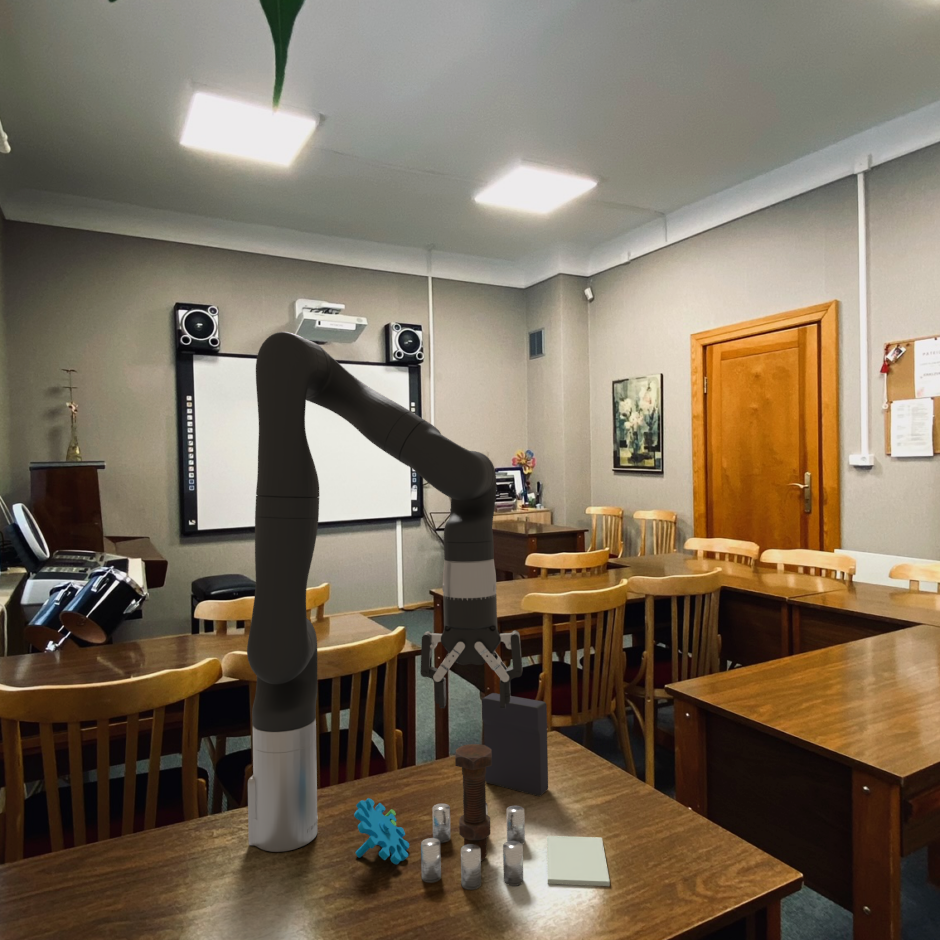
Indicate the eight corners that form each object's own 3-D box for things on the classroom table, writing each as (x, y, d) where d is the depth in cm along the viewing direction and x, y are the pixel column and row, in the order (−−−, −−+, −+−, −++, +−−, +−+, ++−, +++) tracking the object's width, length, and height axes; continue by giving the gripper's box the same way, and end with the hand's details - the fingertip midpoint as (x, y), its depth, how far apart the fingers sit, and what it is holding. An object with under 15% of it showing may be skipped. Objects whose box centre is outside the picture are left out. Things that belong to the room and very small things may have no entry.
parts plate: (547, 883, 90) (547, 879, 90) (546, 839, 101) (546, 835, 101) (609, 886, 89) (609, 881, 89) (601, 841, 100) (601, 837, 100)
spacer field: (418, 887, 89) (417, 852, 90) (435, 829, 104) (435, 799, 104) (522, 891, 88) (522, 856, 88) (525, 832, 103) (524, 802, 103)
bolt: (493, 869, 93) (491, 758, 94) (456, 869, 93) (454, 759, 94) (493, 846, 99) (491, 742, 99) (458, 847, 99) (456, 742, 99)
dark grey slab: (550, 788, 118) (548, 700, 118) (539, 798, 114) (537, 707, 114) (495, 774, 123) (493, 691, 124) (482, 784, 120) (481, 697, 120)
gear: (400, 868, 91) (351, 808, 93) (369, 899, 91) (321, 838, 94) (421, 837, 102) (377, 784, 104) (394, 865, 102) (350, 811, 104)
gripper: (520, 586, 100) (523, 698, 100) (424, 587, 101) (426, 697, 101) (519, 595, 92) (522, 716, 92) (415, 596, 94) (418, 715, 94)
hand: (472, 706), depth 97 cm, fingers open, 8 cm apart
